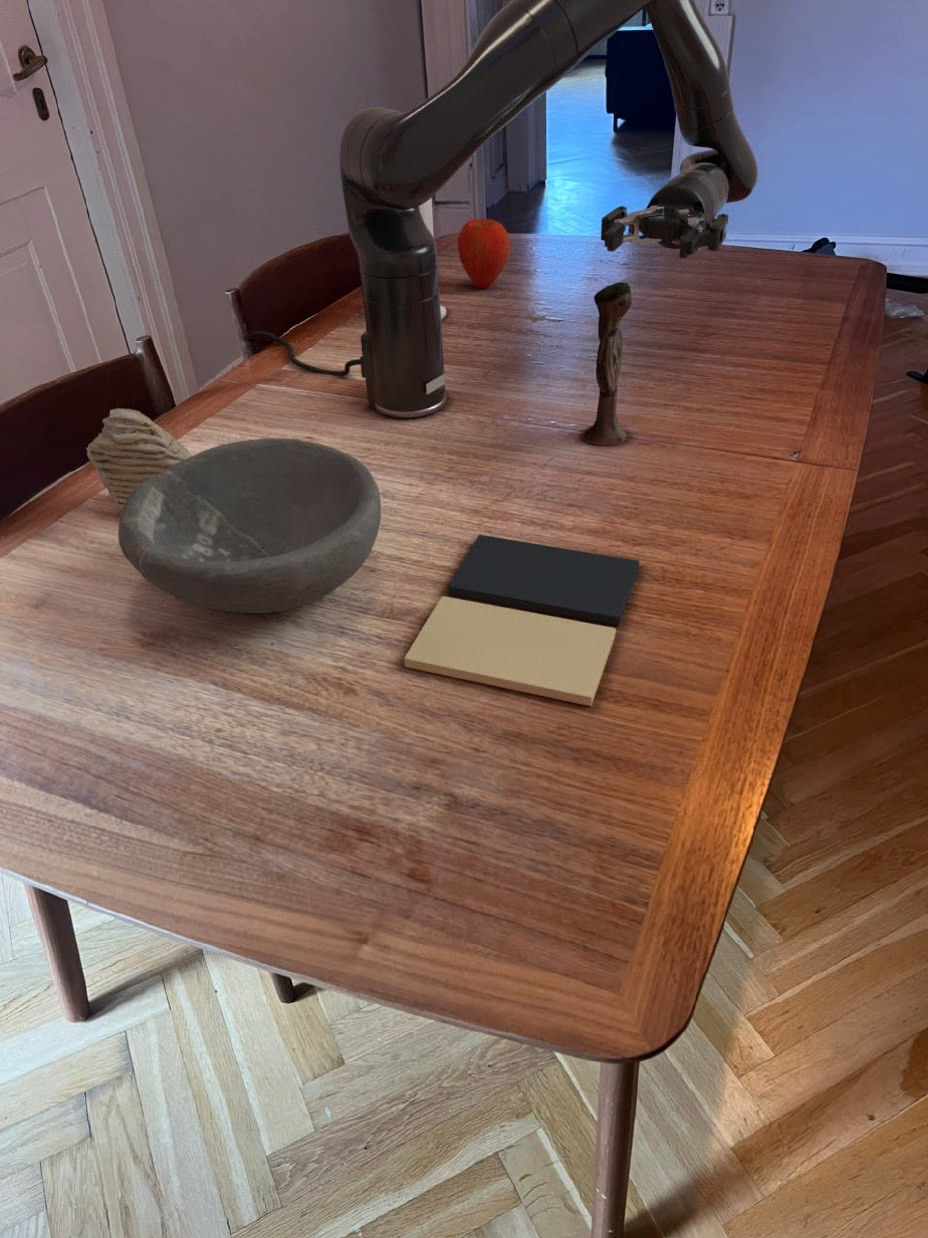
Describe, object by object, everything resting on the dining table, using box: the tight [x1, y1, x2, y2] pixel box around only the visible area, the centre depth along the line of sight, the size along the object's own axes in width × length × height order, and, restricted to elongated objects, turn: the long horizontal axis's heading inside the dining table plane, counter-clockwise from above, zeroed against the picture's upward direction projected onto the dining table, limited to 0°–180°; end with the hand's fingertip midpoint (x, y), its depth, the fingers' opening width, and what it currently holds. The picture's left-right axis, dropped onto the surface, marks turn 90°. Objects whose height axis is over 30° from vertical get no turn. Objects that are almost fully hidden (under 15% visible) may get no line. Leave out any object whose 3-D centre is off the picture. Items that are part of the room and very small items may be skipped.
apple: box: [456, 217, 511, 290], centre depth 145 cm, size 9×8×11 cm
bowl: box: [117, 437, 382, 614], centre depth 82 cm, size 23×22×10 cm
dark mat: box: [447, 534, 640, 627], centre depth 83 cm, size 16×9×1 cm, turn 70°
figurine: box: [583, 281, 633, 446], centre depth 99 cm, size 7×5×18 cm
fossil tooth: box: [85, 407, 193, 511], centre depth 93 cm, size 12×6×15 cm
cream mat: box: [403, 595, 617, 707], centre depth 75 cm, size 16×9×1 cm, turn 70°
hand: (646, 245), depth 101 cm, fingers open, 8 cm apart
